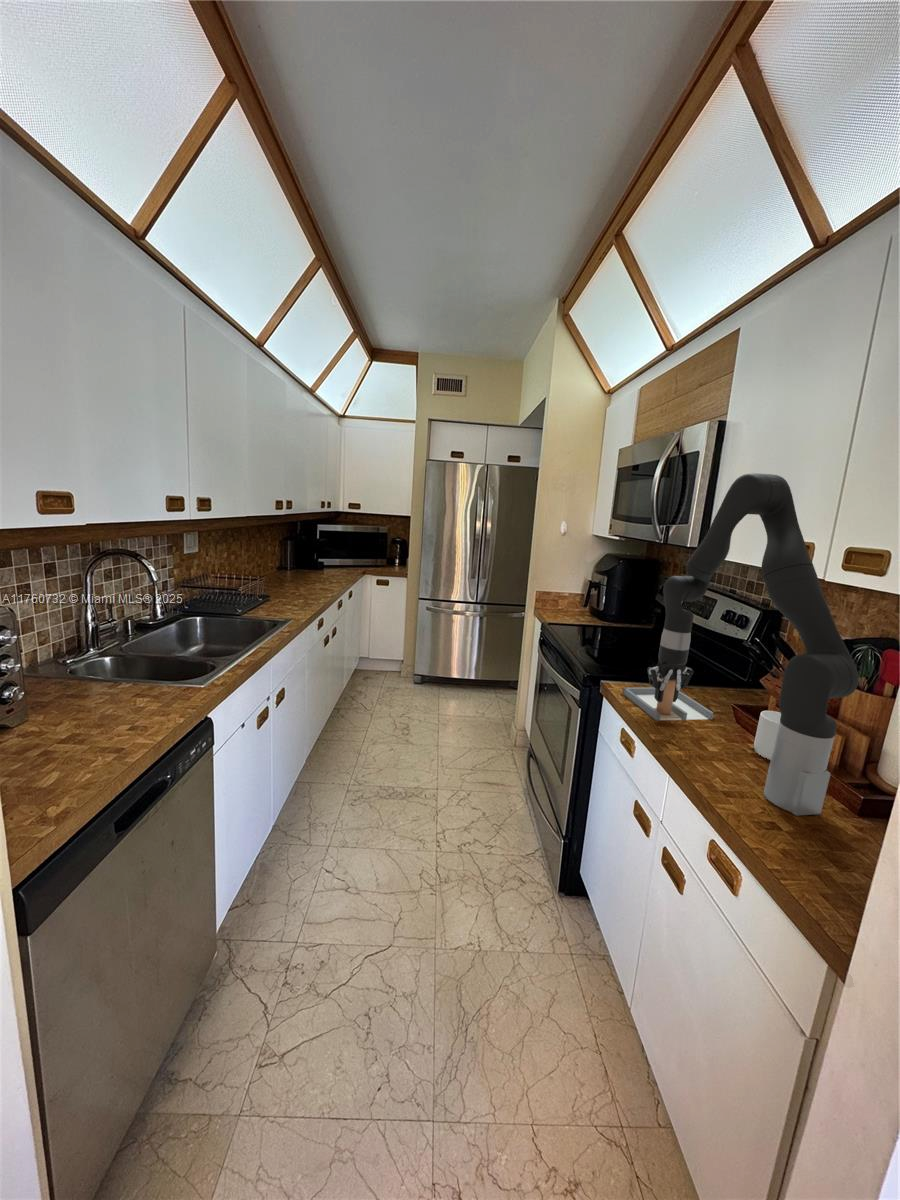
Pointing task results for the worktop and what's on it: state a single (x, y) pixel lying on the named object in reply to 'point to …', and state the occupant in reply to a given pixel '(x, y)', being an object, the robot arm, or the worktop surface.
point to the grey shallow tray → (682, 706)
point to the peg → (667, 697)
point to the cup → (766, 733)
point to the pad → (668, 715)
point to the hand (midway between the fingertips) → (665, 700)
